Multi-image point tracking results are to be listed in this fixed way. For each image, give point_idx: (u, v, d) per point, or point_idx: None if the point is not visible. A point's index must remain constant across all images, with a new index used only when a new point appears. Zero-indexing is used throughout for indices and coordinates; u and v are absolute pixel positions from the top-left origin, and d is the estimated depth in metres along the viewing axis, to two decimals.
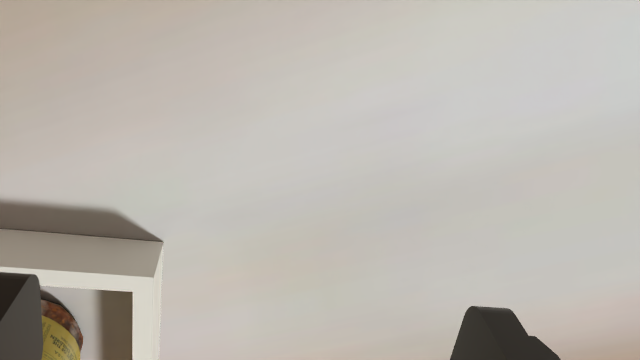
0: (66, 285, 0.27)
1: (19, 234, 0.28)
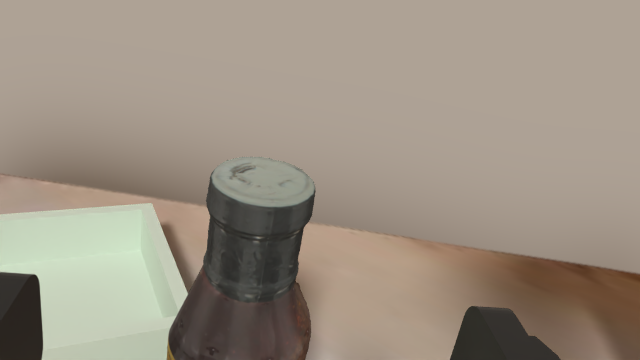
0: None
1: None
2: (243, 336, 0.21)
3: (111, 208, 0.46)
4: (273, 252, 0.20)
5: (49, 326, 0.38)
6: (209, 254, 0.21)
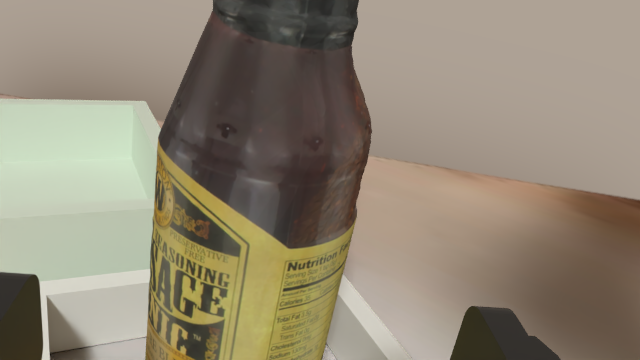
0: None
1: None
2: (275, 104, 0.14)
3: (96, 102, 0.38)
4: None
5: None
6: None
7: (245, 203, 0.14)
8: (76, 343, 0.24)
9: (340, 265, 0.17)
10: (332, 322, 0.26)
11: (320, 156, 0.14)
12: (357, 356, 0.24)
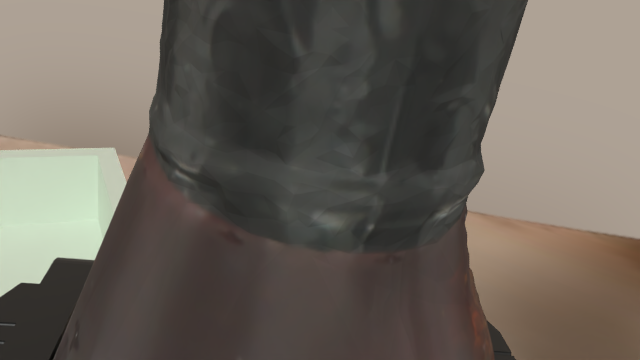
0: None
1: None
2: None
3: (50, 152, 0.30)
4: (457, 4, 0.04)
5: None
6: (167, 61, 0.05)
7: None
8: None
9: None
10: None
11: None
12: None
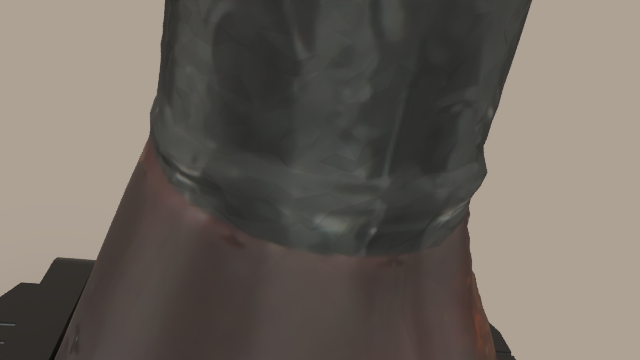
0: None
1: None
2: None
3: None
4: (460, 7, 0.04)
5: None
6: (168, 63, 0.05)
7: None
8: None
9: None
10: None
11: None
12: None
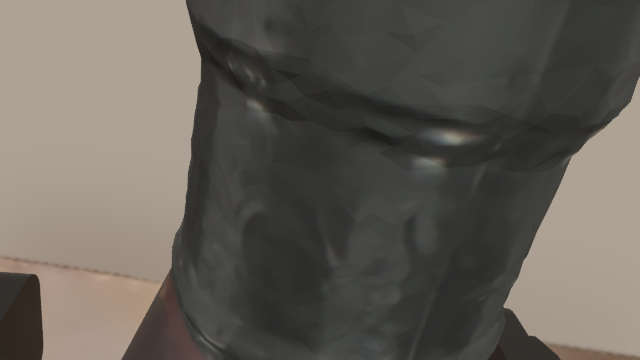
0: None
1: None
2: None
3: None
4: (495, 220, 0.04)
5: None
6: (194, 225, 0.05)
7: None
8: None
9: None
10: None
11: None
12: None
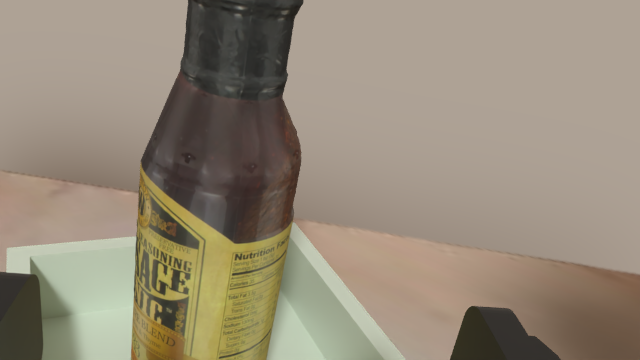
0: None
1: None
2: (223, 139, 0.19)
3: None
4: (258, 32, 0.18)
5: None
6: (187, 46, 0.19)
7: (202, 209, 0.19)
8: None
9: (279, 257, 0.22)
10: None
11: (255, 177, 0.19)
12: None
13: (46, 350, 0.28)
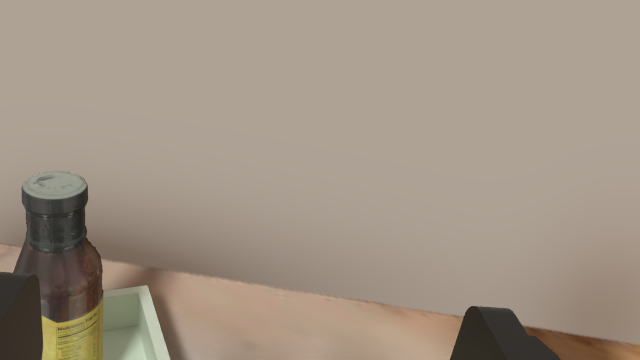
0: None
1: None
2: (45, 273, 0.38)
3: (112, 292, 0.52)
4: (57, 224, 0.37)
5: None
6: (27, 226, 0.38)
7: None
8: None
9: (89, 326, 0.41)
10: None
11: (62, 291, 0.38)
12: None
13: None
